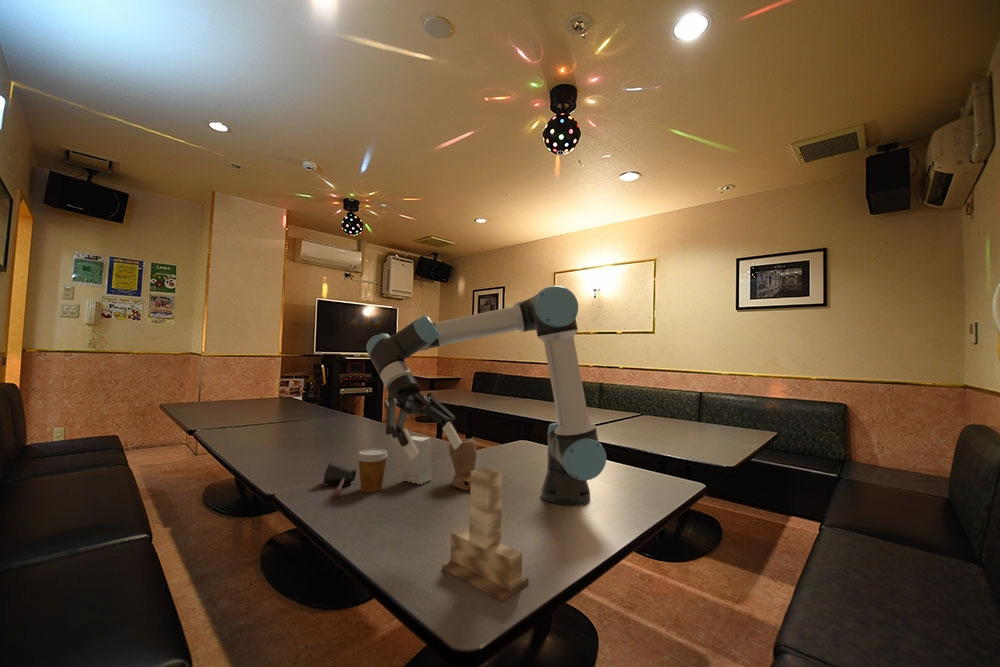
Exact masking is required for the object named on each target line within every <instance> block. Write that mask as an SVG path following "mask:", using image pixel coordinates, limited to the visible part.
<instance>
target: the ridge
mask: <svg viewBox="0 0 1000 667" xmlns="http://www.w3.org/2000/svg"><path fill="white" fill-rule="evenodd" d="M450 534H451V535H450V559H449V560H447V561H445V562H443V563H442V564H441V570H443V571H445V572H447V573H448V574H451V575H452V576H454V577H456V578H458V579H460V580H461V581H464V582H465V583H467V584H469V585H471V586H472V587H474V588H476V589H478V590H480V591H481V592H483V591H484V593H485V594H487V595H489V596H491V597H493V599H494V598H495V599H496V600H498V601H500V602H504V601H505V600H507V599H509V597H510V595H511V596H512V595H514V594H516V593H517V592H518V591H519V590H521V589H522V588H523V587H525V586H527V585H528V584H529V576H527V575H524V574H522V573H523V552H522V551H519V550H518V549H514V548H512V547H509V546H507V545H505V544H502V543H501V542H500V543H498V544H496V545H494V546H492V547H490V548H488V549H486V550H485V549H483V548H480V547H478V546H476V545H474V544H471V543H469V529H468V528H465V527H462V528H459V529H457V530H455V531H452V532H451V533H450ZM527 583H528V584H527ZM524 585H525V586H524ZM521 587H522V588H521ZM520 588H521V589H520ZM517 590H518V591H517ZM513 593H514V594H513Z"/></svg>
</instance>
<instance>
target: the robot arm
mask: <svg viewBox="0 0 1000 667" xmlns="http://www.w3.org/2000/svg"><path fill="white" fill-rule="evenodd" d="M578 312H579V303H578V299H577V297H576V295H575V294H574V293H573V292H572V291H571V290H570V289H569V288H567V287H564V286H561V285H551V286H547V287H544V288H542V289H540V291H539V292H538V293H536V294H535V295H534V296H531V297H529V298H527V299H526V300H522V301H518V302H515V303H514V304H513V306H510V307H505V308H500V309H494V310H490V311H486V312H480V313H475V314H471V315H466V316H465V315H464V316H461V317H457V318H451V319H447V320H441V321H437V322H433V321H432V320H431V319H430V317H429V316H428V315H426V314H425V315H422V316H420V317H419V318H417V319H415V320H413V322H411V323H409V324H408V325H406V326H405V327H403V328H402V329H400V330H399V331H398V332H396V333H394V334H392V335H390V334H388V333H383V332H382V333H379V334H375V335H374V336H372V337H371V338H370V339H369V340H368V341H367V343H366V345H365V346H366V351H367V354H368V356H369V359H370V361H371V362H372V364H373V367H375V370H376V371H377V373H378V375H379V377H380V379H381V381H382V383H383V385H384V387H385V388H386V390H387V392H388V395H389V396H388V397H387V398H386V400H385V401H384V403H383V405H384V407H385V410H386V413H385V435H386V436H387V435H389V436H390V435H391V437H392V438H393V439H396V440H397V441H398V442H399V444H400V446H401V447H402V448H403V446H404V448H405V450H406V452H407V454H408V456H409V458H410V460H414V458H415V457H416V456H417V455H418V453H419V451H418V449H417V447H416V445H415V443H414V442H413V440H412V438H411V434H410V432H409V430H408V428H404V426H405V422H406V420H407V415H412V414H421V415H426V416H427V417H428V418H430V419H431V420H433V421H434V422H436V423H438V424H440V425H441V426H443V427H442V431H443V433H444V434H445V436H446V437H447V439H448V441H449V443H451V444H452V446H453V448H454V449H457V448H458V447H459V446H460V445H461V443H462V441H461V440H462V439H461V438H460V436H459V435H458V432H457V431H458V430H457V429H456V427H455V426H454V424H453V422H454V421H455V419H456V415H454V414H453V413H452V412H451V411H450V410H449V409H447V408H446V407H445V406H444V405H443V404H442V403H440V401H438V399H436V398H435V396H434V395H433V394H432V393H431V392H427V394H426V395H423V394H422V393H421V391H420V385H419V383H418V382H417V380H416V378H415V376H414V375H413V372H412V371H411V369H410V368H409V366H408V365H407V363H406V361H405V360H407V359H408V358H410V357H411V356H413V355H415V354H417V353H418V352H421V351H427V350H429V349H434V348H438V347H442V346H448V345H452V344H457V343H461V342H467V341H471V340H476V339H480V338H485V337H489V336H495V335H500V334H504V333H505V334H506V333H509V332H515V331H519V332H521V333H525V332H530V331H536V336H537V338H538V339H539V341H542V342H543V344H544V345H543V346H544V350H545V351H544V352H545V357H546V362H547V367H548V372H549V379H550V384H551V390H552V395H553V400H554V406H555V411H556V417H557V421H558V422H555V423H553V422H552V423H550V424H549V425H548V426H547V427H548V428H547V467H546V468H547V470H546V474H545V477H544V479H543V483H542V486H541V494H540V495H541V498H543V500H545V501H547V502H549V503H552V504H555V505H559V506H560V505H561V506H569V507H570V506H581V505H585V504H588V503H589V502H590V501H591V490H590V488H589V484H588V481H590V480H592V479H593V480H594V479H595V478H597V477H598V476H599V475H601V473H602V472H603V470H604V468H605V467H606V463H607V453H606V450H605V448H604V447H603V445H602V443H600V442H599V437H598V432H597V427H596V425H595V423H593V422H591V421H590V418H589V413H588V408H587V407H588V406H587V403H586V397H585V392H584V388H583V381H582V375H581V369H580V366H579V365H580V364H579V359H578V354H577V349H576V348H577V347H576V344H575V335H576V334H577V332H578V330H579V329H578V324H577V319H576V318H577V316H578ZM424 406H425V407H424ZM396 407H397V408H400V410H399V413H398V417H397V421H396Z"/></svg>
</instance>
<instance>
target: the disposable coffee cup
mask: <svg viewBox="0 0 1000 667" xmlns="http://www.w3.org/2000/svg"><path fill="white" fill-rule="evenodd" d="M388 457H389V454H388V450H386V449H383V448H368V449H367V448H366V449H363V450H360V451H359V452H358V455H357V456H356V458H357V460H358V469H359V481H360V482H359V483H360V491H361V490H362V491H363V492H362V491H361V492H362V493H365V492H373V493H377V492H376V491H378V492H380V491H381V490H382V487H383V482H384V475H385V469H386V463H387V459H388ZM379 490H380V491H379Z"/></svg>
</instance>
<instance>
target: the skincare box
mask: <svg viewBox="0 0 1000 667" xmlns="http://www.w3.org/2000/svg"><path fill="white" fill-rule="evenodd" d="M410 436H411V435H410ZM411 438H412V440H413V442H414V443H415V445H416V447H417V449H418V451H419V453H418V455H417V456H416V457H415V458H414V460H410V458H409V456H408V454H407V452H406V450H405V448H404V446H403V447H402V481H403V480H405V481H408V482H407V483H409V482H412V483H411V484H414V483H418V484H417V485H419V484H421V485H424V484H426V483H428V482H427V481H429V480H432V455H431V454H432V448H431V447H432V444H431V442H432V440H431V437H426V436H425V437H424V436H415V435H412V436H411ZM425 482H426V483H425ZM429 482H430V481H429ZM423 483H424V484H423Z"/></svg>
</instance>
